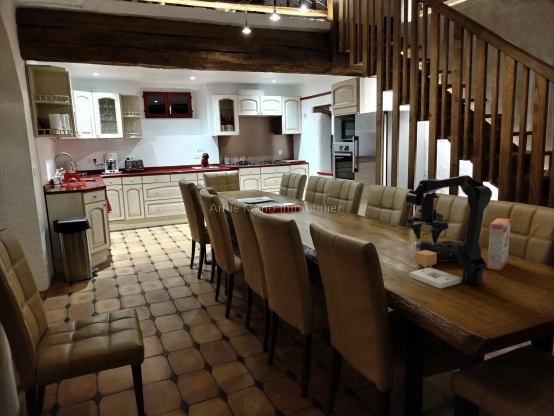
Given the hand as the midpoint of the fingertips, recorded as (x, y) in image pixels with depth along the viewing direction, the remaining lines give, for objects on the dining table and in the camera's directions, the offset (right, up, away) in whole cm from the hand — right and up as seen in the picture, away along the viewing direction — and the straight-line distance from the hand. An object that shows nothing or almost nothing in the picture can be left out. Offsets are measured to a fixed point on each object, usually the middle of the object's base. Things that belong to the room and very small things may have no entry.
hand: (426, 241), depth 176 cm
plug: (0, -12, +2) cm, 12 cm away
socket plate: (-2, -15, -13) cm, 20 cm away
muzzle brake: (+13, -11, +9) cm, 19 cm away
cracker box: (+33, -11, 0) cm, 35 cm away
